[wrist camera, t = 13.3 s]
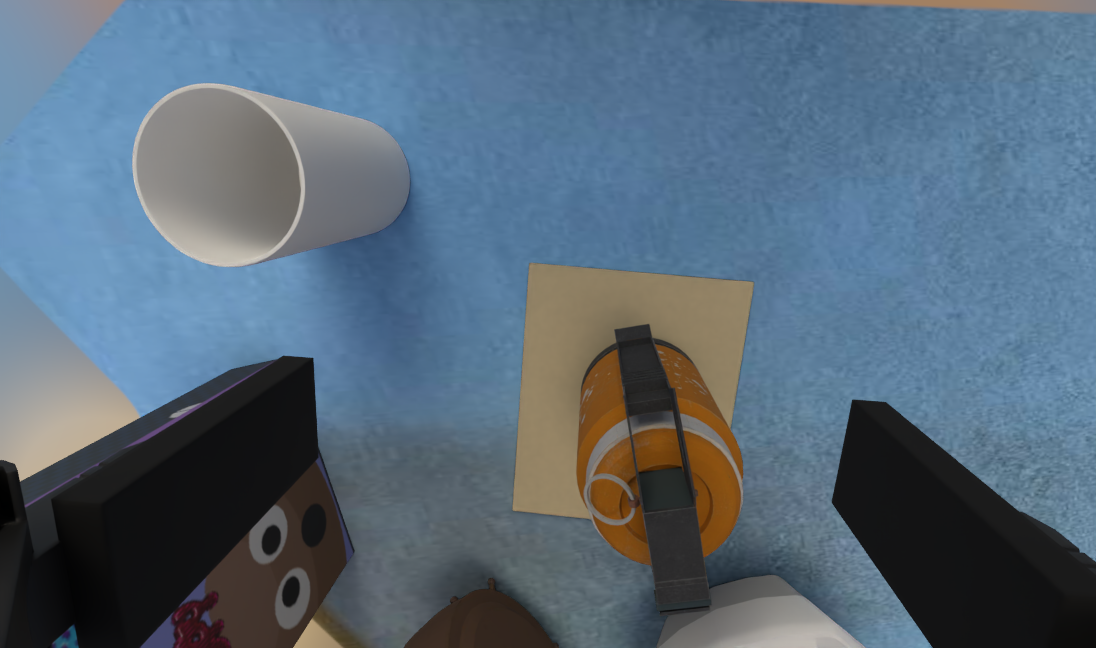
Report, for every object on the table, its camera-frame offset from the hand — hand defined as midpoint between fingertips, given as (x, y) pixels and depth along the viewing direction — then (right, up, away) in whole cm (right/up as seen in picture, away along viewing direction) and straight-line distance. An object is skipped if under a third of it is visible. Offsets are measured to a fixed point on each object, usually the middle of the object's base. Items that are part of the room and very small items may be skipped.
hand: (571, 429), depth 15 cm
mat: (+5, -3, +31) cm, 31 cm away
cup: (-14, +13, +28) cm, 34 cm away
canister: (+6, -1, +30) cm, 31 cm away
